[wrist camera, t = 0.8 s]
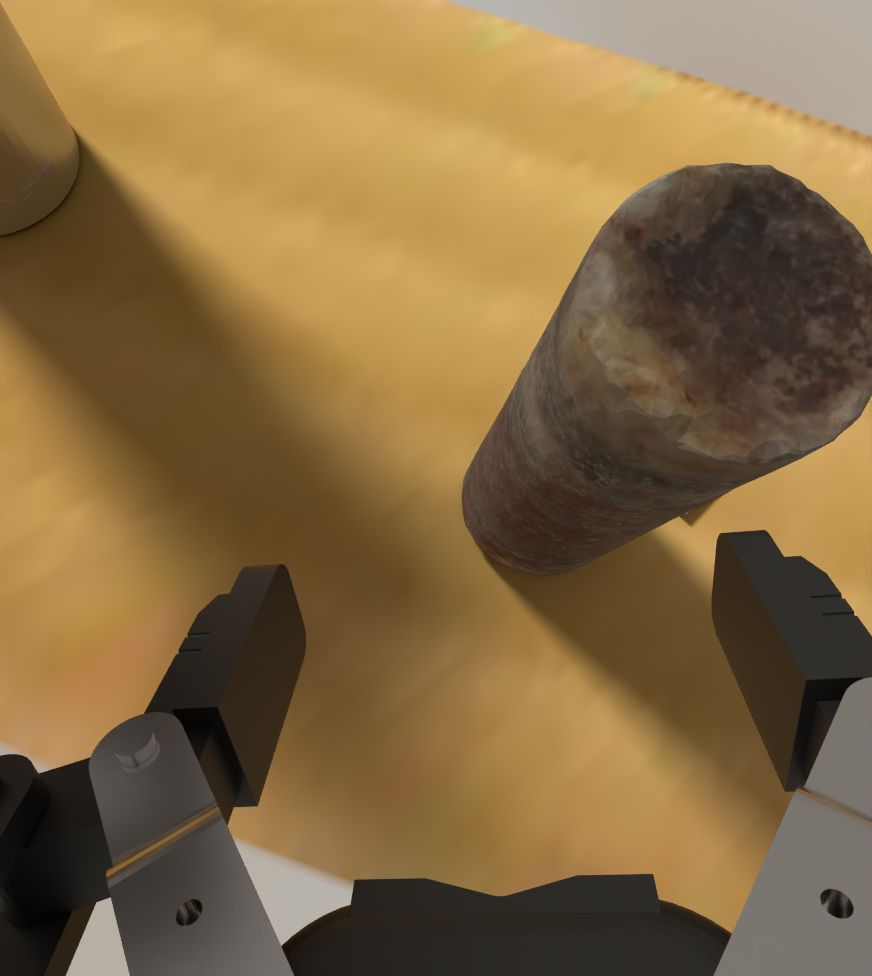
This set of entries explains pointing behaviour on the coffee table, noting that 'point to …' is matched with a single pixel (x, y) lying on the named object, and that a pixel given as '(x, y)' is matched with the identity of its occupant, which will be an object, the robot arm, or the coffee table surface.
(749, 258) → the reddish brown cylinder
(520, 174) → the coffee table surface
